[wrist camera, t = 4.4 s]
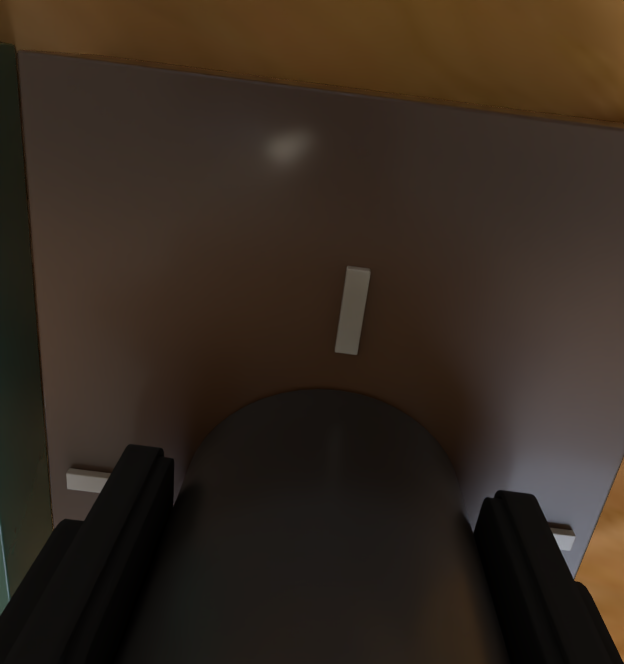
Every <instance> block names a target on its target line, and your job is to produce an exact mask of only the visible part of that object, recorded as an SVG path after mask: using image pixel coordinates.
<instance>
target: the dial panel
mask: <svg viewBox="0 0 624 664" xmlns="http://www.w3.org/2000/svg"><path fill="white" fill-rule="evenodd" d="M17 56H18V69H19V82H20V95H21V108H22V121H23V134H24V147H25V160H26V173H27V186H28V199H29V212H30V225H31V238H32V251H33V265H34V278H35V291H36V304H37V317H38V330H39V343H40V356H41V369H42V382H43V395H44V408H45V421H46V434H47V447H48V460H49V473H50V486H51V499H52V512H53V525H54V529H55V528H56V526H57V525H58V524H59V522H61V521H62V520H64V519H72V520H80V521H84V520H85V518H86V517H87V515H88V513H89V511H90V510H91V508H92V506H93V504H94V503H95V501H96V499H97V497H98V495H99V494H100V492H101V490H102V488H103V487H104V485H105V483H106V481H107V480H108V478H109V476H110V474H111V473H112V471H113V469H114V467H115V466H116V464H117V462H118V460H119V459H120V457H121V455H122V453H123V452H124V450H125V448H126V447H127V445H129V444H135V445H143V446H151V447H159V448H162V449H163V451H164V457H168V458H173V459H174V498H173V506H174V504H175V501H176V498H177V496H178V493H179V491H180V488H181V485H182V483H183V480H184V478H185V475H186V472H187V470H188V467H189V465H190V463H191V460H192V458H193V456H194V454H195V452H196V450H197V449H198V447H199V446H200V445H201V443H202V442H203V440H204V439H205V438H206V436H207V435H208V434H209V433H210V432H211V431H212V430H213V429H214V428H215V427H216V426H217V425H218V424H220V423H221V422H222V421H223V420H225V419H226V418H227V417H228V416H230V415H231V414H233V413H235V412H236V411H238V410H240V409H241V408H243V407H245V406H247V405H249V404H251V403H254V402H256V401H258V400H261V399H263V398H266V397H270V396H273V395H277V394H280V393H285V392H291V391H298V390H312V389H326V390H340V391H345V392H351V393H356V394H361V395H364V396H367V397H370V398H374V399H377V400H379V401H382V402H384V403H386V404H388V405H391V406H393V407H395V408H397V409H398V410H400V411H402V412H403V413H405V414H407V415H408V416H410V417H411V418H413V419H414V420H415V421H417V422H418V423H419V424H420V425H422V426H423V427H424V428H425V429H426V430H427V431H428V432H429V433H430V434H431V435H432V436H433V437H434V438H435V439H436V440H437V441H438V443H439V444H440V445H441V447H442V448H443V450H444V451H445V453H446V454H447V456H448V458H449V460H450V462H451V464H452V466H453V468H454V470H455V473H456V476H457V480H458V483H459V486H460V490H461V493H462V496H463V500H464V503H465V507H466V510H467V514H468V517H469V521H470V524H471V528H472V531H473V533H474V529H475V526H476V522H477V519H478V516H479V512H480V509H481V506H482V503H483V500H484V499H485V498H486V497H490V498H493V497H494V495H495V493H496V492H497V491H498V490H505V491H513V492H521V493H529V494H533V495H534V496H535V497H536V499H537V500H538V503H539V505H540V507H541V509H542V511H543V513H544V516H545V518H546V520H547V522H548V524H549V527H550V529H551V531H552V533H553V535H554V537H555V540H556V542H557V544H558V546H559V548H560V550H561V553H562V555H563V557H564V559H565V561H566V563H567V566H568V568H569V570H570V572H571V574H572V576H573V579H575V577H576V574H577V572H578V569H579V567H580V564H581V562H582V559H583V557H584V554H585V552H586V549H587V547H588V544H589V542H590V539H591V537H592V534H593V532H594V529H595V527H596V525H597V522H598V520H599V517H600V515H601V512H602V510H603V507H604V505H605V502H606V500H607V497H608V495H609V492H610V490H611V487H612V485H613V482H614V480H615V477H616V475H617V472H618V470H619V468H620V465H621V463H622V460H623V458H624V123H619V122H611V121H604V120H596V119H588V118H581V117H573V116H565V115H557V114H550V113H542V112H534V111H527V110H519V109H511V108H503V107H496V106H488V105H480V104H473V103H465V102H457V101H449V100H442V99H434V98H426V97H419V96H411V95H403V94H395V93H388V92H380V91H372V90H365V89H357V88H349V87H341V86H334V85H326V84H318V83H311V82H303V81H295V80H287V79H280V78H272V77H264V76H256V75H249V74H241V73H233V72H226V71H218V70H210V69H202V68H195V67H187V66H179V65H172V64H164V63H156V62H148V61H141V60H133V59H125V58H118V57H110V56H102V55H89V54H75V53H61V52H47V51H33V50H19V51H18V53H17Z"/></svg>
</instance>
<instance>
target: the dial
mask: <svg viewBox="0 0 624 664" xmlns="http://www.w3.org/2000/svg"><path fill="white" fill-rule="evenodd" d="M113 664H511V662H510V659H509V656H508V652H507V649H506V645H505V642H504V638H503V635H502V631H501V628H500V624H499V621H498V617H497V614H496V611H495V607H494V604H493V600H492V597H491V593H490V590H489V586H488V583H487V579H486V576H485V573H484V569H483V566H482V562H481V559H480V555H479V552H478V548H477V545H476V541H475V538H474V535H473V531H472V528H471V524H470V521H469V517H468V514H467V510H466V507H465V503H464V500H463V496H462V493H461V490H460V486H459V483H458V480H457V476H456V473H455V470H454V468H453V466H452V464H451V462H450V460H449V458H448V456H447V454H446V453H445V451H444V450H443V448H442V447H441V445H440V444H439V443H438V441H437V440H436V439H435V438H434V437H433V436H432V435H431V434H430V433H429V432H428V431H427V430H426V429H425V428H424V427H423V426H422V425H420V424H419V423H418V422H417V421H415V420H414V419H413V418H411V417H410V416H408V415H407V414H405V413H403V412H402V411H400V410H398V409H397V408H395V407H393V406H391V405H388V404H386V403H384V402H382V401H379V400H377V399H374V398H370V397H367V396H364V395H361V394H356V393H351V392H345V391H340V390H326V389H312V390H298V391H291V392H285V393H280V394H277V395H273V396H270V397H266V398H263V399H261V400H258V401H256V402H254V403H251V404H249V405H247V406H245V407H243V408H241V409H240V410H238V411H236V412H235V413H233V414H231V415H230V416H228V417H227V418H226V419H225V420H223V421H222V422H221V423H220V424H218V425H217V426H216V427H215V428H214V429H213V430H212V431H211V432H210V433H209V434H208V435H207V436H206V438H205V439H204V440H203V442H202V443H201V445H200V446H199V447H198V449H197V450H196V452H195V454H194V456H193V458H192V460H191V463H190V465H189V467H188V470H187V472H186V475H185V478H184V480H183V483H182V485H181V488H180V491H179V493H178V496H177V498H176V501H175V504H174V506H173V509H172V512H171V514H170V517H169V519H168V522H167V525H166V527H165V530H164V532H163V535H162V538H161V540H160V543H159V545H158V548H157V551H156V553H155V556H154V559H153V561H152V564H151V566H150V569H149V572H148V574H147V577H146V579H145V582H144V585H143V587H142V590H141V592H140V595H139V598H138V600H137V603H136V606H135V608H134V611H133V613H132V616H131V619H130V621H129V624H128V626H127V629H126V632H125V634H124V637H123V639H122V642H121V645H120V647H119V650H118V653H117V655H116V658H115V660H114V663H113Z"/></svg>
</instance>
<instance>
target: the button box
mask: <svg viewBox="0 0 624 664" xmlns="http://www.w3.org/2000/svg"><path fill="white" fill-rule="evenodd" d="M52 532H53V530H52V517H51V504H50V491H49V478H48V466H47V453H46V440H45V427H44V414H43V401H42V389H41V376H40V363H39V350H38V337H37V325H36V312H35V299H34V286H33V273H32V261H31V248H30V235H29V222H28V209H27V196H26V184H25V171H24V158H23V145H22V132H21V120H20V107H19V94H18V81H17V68H16V55H15V46H14V45H13V44H10V43H2V42H0V615H1V614H2V612H3V610H4V609H5V607H6V606H7V604H8V602H9V601H10V599H11V598H12V596H13V594H14V593H15V591H16V590H17V588H18V586H19V585H20V583H21V582H22V580H23V578H24V577H25V575H26V574H27V572H28V570H29V569H30V567H31V566H32V564H33V562H34V561H35V559H36V558H37V556H38V554H39V553H40V551H41V550H42V548H43V546H44V545H45V543H46V542H47V540H48V538H49V537H50V535H51V533H52Z"/></svg>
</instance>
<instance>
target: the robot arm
mask: <svg viewBox="0 0 624 664" xmlns="http://www.w3.org/2000/svg"><path fill="white" fill-rule="evenodd" d="M173 498H174V459H173V458H168V457H164V451H163V449H162V448H159V447H151V446H143V445H135V444H129V445H127V447H126V448H125V450H124V452H123V453H122V455H121V457H120V459H119V460H118V462H117V464H116V466H115V467H114V469H113V471H112V473H111V474H110V476H109V478H108V480H107V481H106V483H105V485H104V487H103V488H102V490H101V492H100V494H99V495H98V497H97V499H96V501H95V503H94V504H93V506H92V508H91V510H90V511H89V513H88V515H87V517H86V518H85V520H84V521H80V520H72V519H64V520H62V521H61V522H59V524H58V525H57V526H56V528H55V529H54V530H53V532H52V533H51V535H50V537H49V538H48V540H47V542H46V543H45V545H44V546H43V548H42V550H41V551H40V553H39V554H38V556H37V558H36V559H35V561H34V562H33V564H32V566H31V567H30V569H29V570H28V572H27V574H26V575H25V577H24V578H23V580H22V582H21V583H20V585H19V586H18V588H17V590H16V591H15V593H14V594H13V596H12V598H11V599H10V601H9V602H8V604H7V606H6V607H5V609H4V610H3V612H2V614H1V615H0V664H113V663H114V660H115V658H116V655H117V653H118V650H119V647H120V645H121V642H122V639H123V637H124V634H125V632H126V629H127V626H128V624H129V621H130V619H131V616H132V613H133V611H134V608H135V606H136V603H137V600H138V598H139V595H140V592H141V590H142V587H143V585H144V582H145V579H146V577H147V574H148V572H149V569H150V566H151V564H152V561H153V559H154V556H155V553H156V551H157V548H158V545H159V543H160V540H161V538H162V535H163V532H164V530H165V527H166V525H167V522H168V519H169V517H170V514H171V512H172V509H173ZM473 535H474V538H475V541H476V545H477V548H478V552H479V555H480V559H481V562H482V566H483V569H484V573H485V576H486V579H487V583H488V586H489V590H490V593H491V597H492V600H493V604H494V607H495V611H496V614H497V617H498V621H499V624H500V628H501V631H502V635H503V638H504V642H505V645H506V649H507V652H508V656H509V659H510V662H511V664H624V663H623V661H622V659H621V657H620V655H619V652H618V650H617V648H616V646H615V644H614V642H613V640H612V638H611V636H610V634H609V632H608V630H607V627H606V625H605V623H604V621H603V619H602V617H601V615H600V613H599V611H598V609H597V607H596V605H595V602H594V600H593V598H592V596H591V594H590V593H589V591H588V590H587V588H586V587H585V586H584V585H583V584H582V583H580V582H576V581H574V579H573V576H572V574H571V572H570V570H569V568H568V566H567V563H566V561H565V559H564V557H563V555H562V553H561V550H560V548H559V546H558V544H557V542H556V540H555V537H554V535H553V533H552V531H551V529H550V527H549V524H548V522H547V520H546V518H545V516H544V513H543V511H542V509H541V507H540V505H539V503H538V500H537V499H536V497H535V496H534V495H533V494H529V493H521V492H513V491H505V490H498V491H497V492H496V493H495V495H494V497H493V498H490V497H486V498H485V499H484V500H483V503H482V506H481V509H480V512H479V516H478V519H477V522H476V526H475V529H474V533H473Z"/></svg>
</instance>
